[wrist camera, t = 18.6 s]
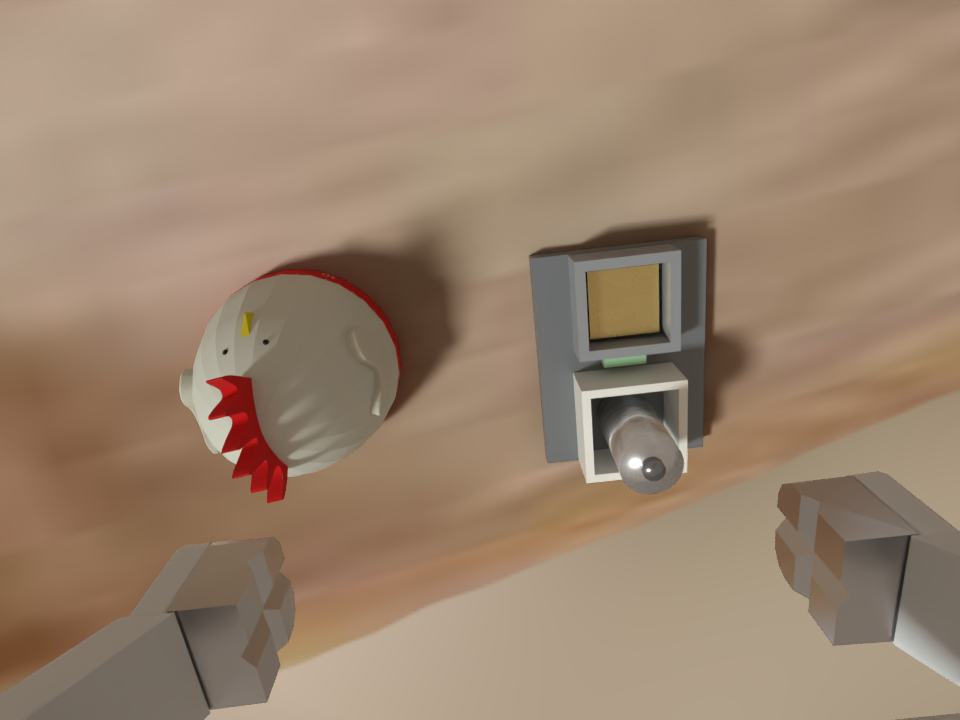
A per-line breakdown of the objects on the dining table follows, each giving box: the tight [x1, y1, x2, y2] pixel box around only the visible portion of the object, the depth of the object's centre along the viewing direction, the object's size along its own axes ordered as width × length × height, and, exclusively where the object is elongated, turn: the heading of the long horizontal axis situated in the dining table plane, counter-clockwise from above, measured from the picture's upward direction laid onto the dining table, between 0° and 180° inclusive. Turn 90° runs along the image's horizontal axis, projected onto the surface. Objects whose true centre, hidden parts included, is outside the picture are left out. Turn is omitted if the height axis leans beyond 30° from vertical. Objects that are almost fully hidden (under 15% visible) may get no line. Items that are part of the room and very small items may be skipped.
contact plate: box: [586, 264, 659, 340], centre depth 42 cm, size 5×5×1 cm
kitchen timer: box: [179, 269, 402, 503], centre depth 38 cm, size 14×14×15 cm
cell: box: [597, 393, 684, 494], centre depth 41 cm, size 4×4×9 cm
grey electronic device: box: [529, 236, 707, 483], centre depth 43 cm, size 12×16×5 cm
